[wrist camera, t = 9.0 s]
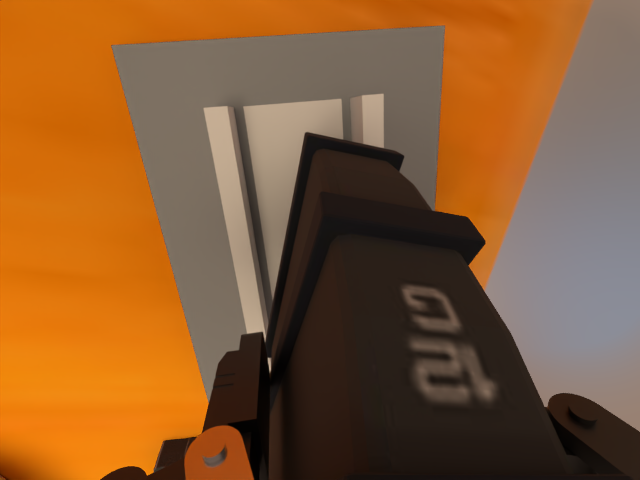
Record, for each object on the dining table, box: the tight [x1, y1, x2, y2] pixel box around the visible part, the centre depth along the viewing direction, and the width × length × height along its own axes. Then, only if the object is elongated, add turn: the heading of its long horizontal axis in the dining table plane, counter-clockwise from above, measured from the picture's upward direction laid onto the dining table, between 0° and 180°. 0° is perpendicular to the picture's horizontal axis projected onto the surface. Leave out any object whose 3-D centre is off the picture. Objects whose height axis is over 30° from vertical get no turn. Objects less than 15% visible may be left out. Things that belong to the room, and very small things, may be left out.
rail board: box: [111, 26, 445, 402], centre depth 19 cm, size 22×16×4 cm
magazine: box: [265, 132, 634, 480], centre depth 12 cm, size 4×13×15 cm, turn 168°
